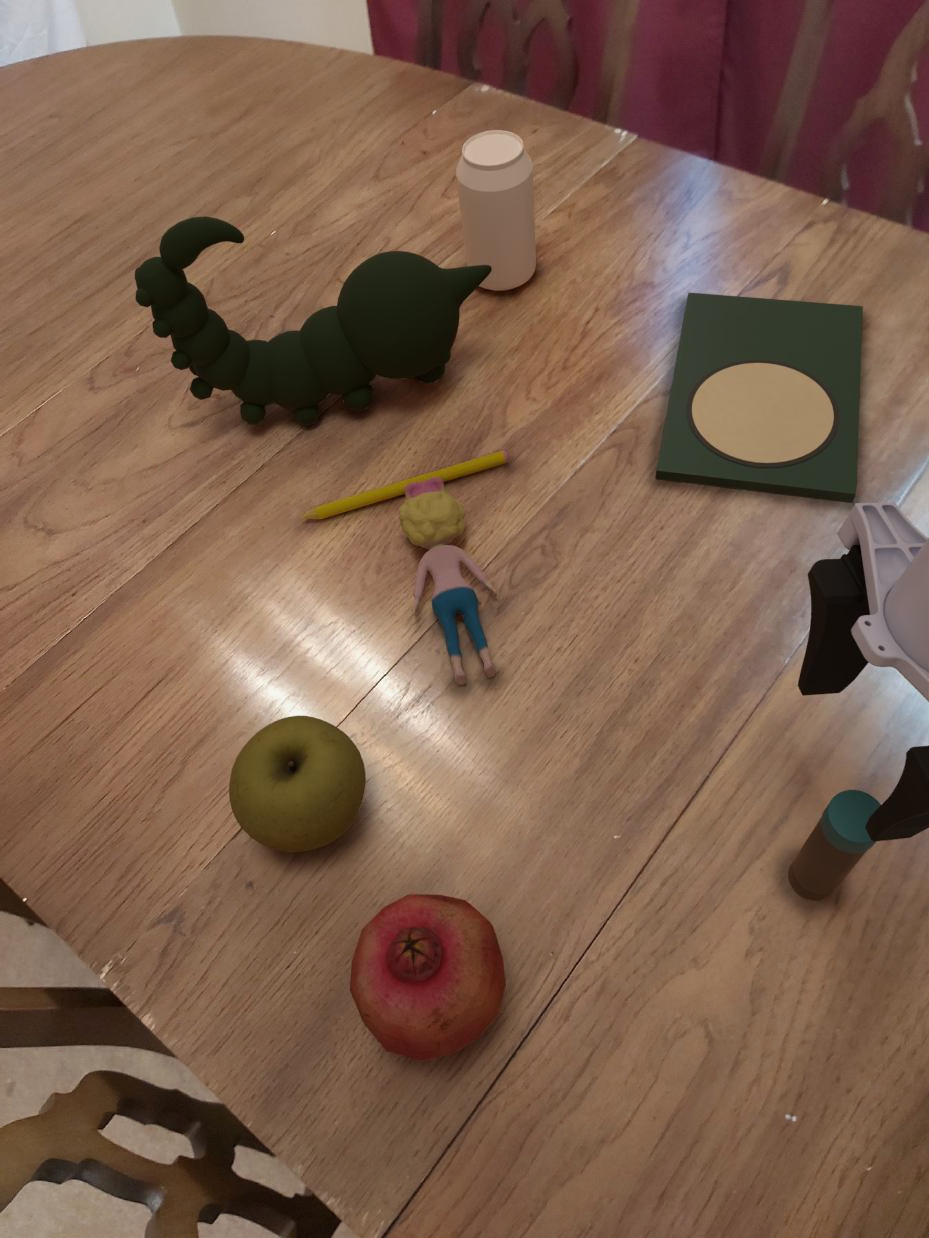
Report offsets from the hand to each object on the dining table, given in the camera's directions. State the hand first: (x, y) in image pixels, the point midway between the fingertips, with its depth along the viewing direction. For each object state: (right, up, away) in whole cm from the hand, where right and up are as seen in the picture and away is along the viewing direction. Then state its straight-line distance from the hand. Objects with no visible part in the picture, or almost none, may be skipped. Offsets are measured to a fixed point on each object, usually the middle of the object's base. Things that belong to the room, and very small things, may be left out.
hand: (851, 756), depth 43 cm
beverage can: (-14, +37, +41) cm, 57 cm away
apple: (-27, -6, +15) cm, 32 cm away
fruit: (-19, -14, +9) cm, 26 cm away
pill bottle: (+2, -8, +10) cm, 13 cm away
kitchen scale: (+6, +24, +30) cm, 39 cm away
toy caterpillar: (-27, +25, +35) cm, 51 cm away
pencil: (-22, +16, +28) cm, 39 cm away
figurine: (-19, +8, +23) cm, 31 cm away
